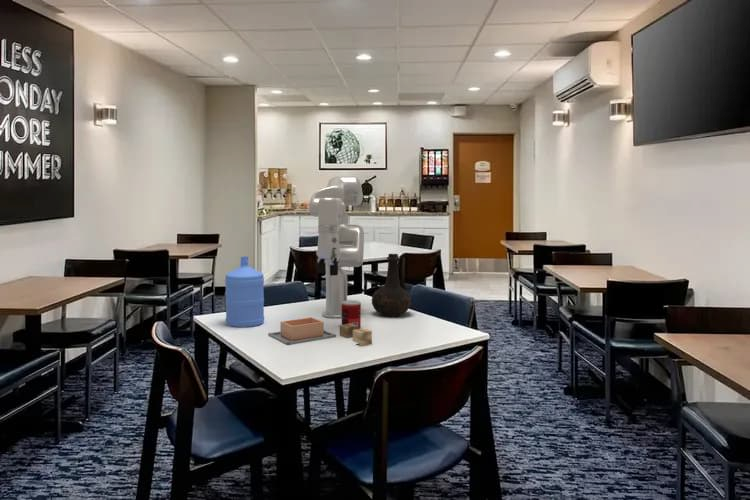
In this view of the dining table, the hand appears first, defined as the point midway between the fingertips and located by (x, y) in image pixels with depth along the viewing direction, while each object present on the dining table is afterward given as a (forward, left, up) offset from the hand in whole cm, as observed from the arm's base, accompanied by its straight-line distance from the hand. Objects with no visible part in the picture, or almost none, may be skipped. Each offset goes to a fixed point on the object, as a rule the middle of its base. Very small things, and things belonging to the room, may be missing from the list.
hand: (327, 274), depth 206 cm
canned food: (-12, -1, -24) cm, 26 cm away
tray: (+12, +2, -23) cm, 26 cm away
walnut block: (-3, +11, -24) cm, 26 cm away
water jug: (+20, -33, -24) cm, 46 cm away
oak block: (-3, +20, -24) cm, 31 cm away
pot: (+12, +2, -22) cm, 25 cm away
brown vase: (-42, -13, -24) cm, 50 cm away
